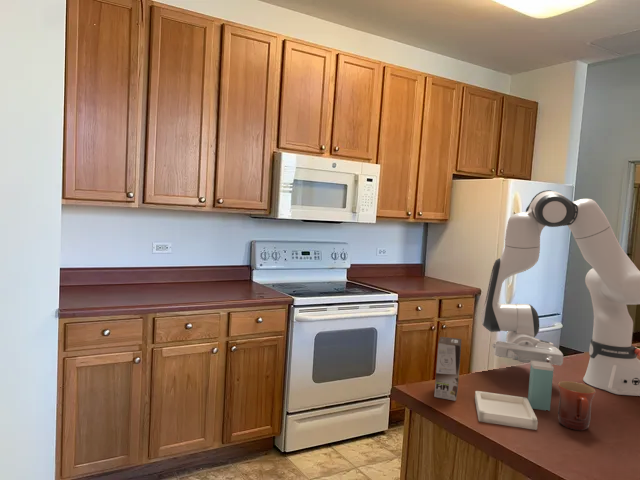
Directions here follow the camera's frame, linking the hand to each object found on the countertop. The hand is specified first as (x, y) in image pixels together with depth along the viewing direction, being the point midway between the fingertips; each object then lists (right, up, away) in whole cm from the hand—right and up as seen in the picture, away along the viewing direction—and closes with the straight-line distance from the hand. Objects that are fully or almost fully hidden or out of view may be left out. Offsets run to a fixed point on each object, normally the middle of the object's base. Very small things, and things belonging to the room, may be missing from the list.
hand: (531, 359), depth 150 cm
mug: (+1, -12, -24) cm, 27 cm away
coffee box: (-28, -9, -5) cm, 29 cm away
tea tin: (-3, -11, -11) cm, 15 cm away
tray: (-15, -10, -17) cm, 25 cm away
